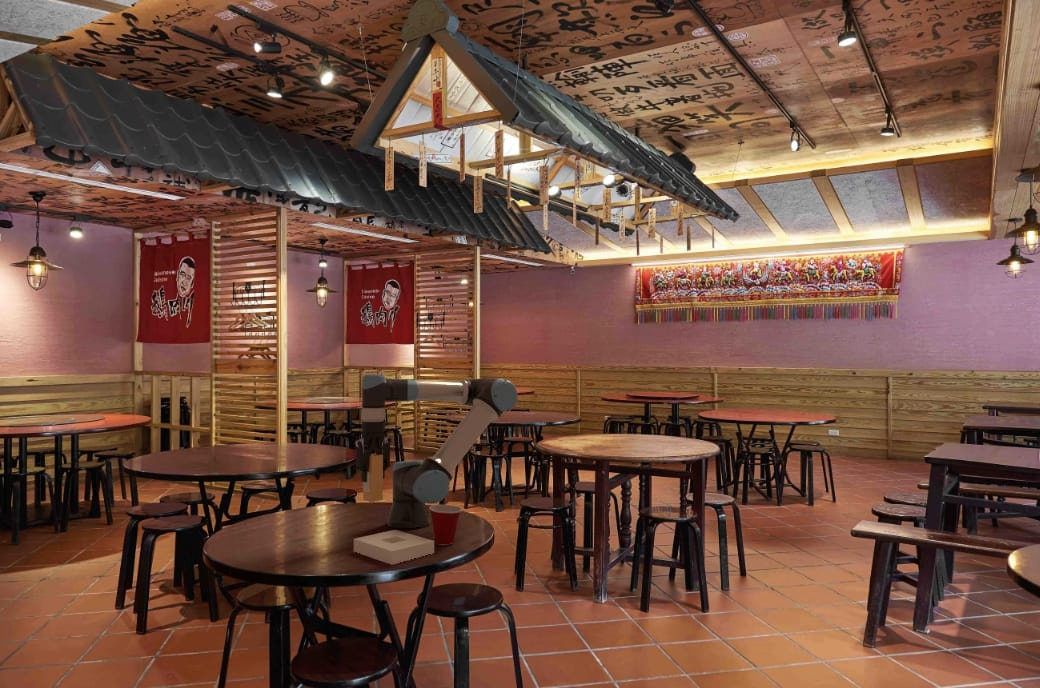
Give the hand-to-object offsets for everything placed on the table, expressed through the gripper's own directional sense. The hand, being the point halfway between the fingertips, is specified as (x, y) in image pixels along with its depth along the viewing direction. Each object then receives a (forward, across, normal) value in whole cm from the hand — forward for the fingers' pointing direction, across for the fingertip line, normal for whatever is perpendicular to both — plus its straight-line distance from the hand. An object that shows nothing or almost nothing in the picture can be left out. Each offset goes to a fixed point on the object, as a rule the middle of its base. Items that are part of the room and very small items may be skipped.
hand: (373, 490), depth 236 cm
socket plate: (+17, +4, +17) cm, 24 cm away
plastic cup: (+17, -14, +21) cm, 30 cm away
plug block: (+3, 0, 0) cm, 3 cm away
